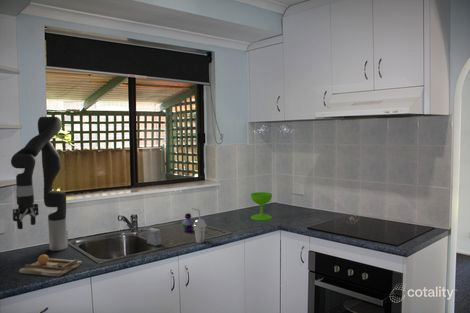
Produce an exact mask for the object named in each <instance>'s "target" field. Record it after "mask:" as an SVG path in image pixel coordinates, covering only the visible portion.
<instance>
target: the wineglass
mask: <svg viewBox="0 0 470 313" xmlns="http://www.w3.org/2000/svg"><path fill="white" fill-rule="evenodd" d="M272 197H273V193H271V192H263V191H260V192H259V191H258V192H257V191H256V192H252V193H250V198H251V200H252V201H253V202H254V203H255V204H257V205H259V213H258V214H253V215H251V216H250V218H251V220H255V221H267V220H272V219H273V216H271V215H270V214H264V213H263V212H264V207H263V206H264V205H266V204H268V203H269V202H270V201H271V200H272Z"/></svg>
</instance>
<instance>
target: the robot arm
mask: <svg viewBox="0 0 470 313" xmlns="http://www.w3.org/2000/svg"><path fill="white" fill-rule="evenodd" d="M62 126H63V124H62V120H61V118H60V117H58V116H40V117H39V118H38V121H37V130H38V134H37V135H35V136H34V137H32V138H31V139H30V140H29V141H28V142H27V143H26V144H25V146H24V147H22V148H21V149H20V150H17V152H16V153H14V154H13V155H12V157H11V159H10V164H11V166H12V167H13V168H14V169H23V172H20V173H18V174H16V177H15V183H16V189H15V193H16V204H17V207H18V208H13V209H12V221H13V222H16V224H17V225H16V227H17V229H18V230H23V220H24V218H26V216H29V217H30V218H29V219H30V225H31V226H35V225H36V223H37V222H36V221H37V220H36V218H37V216H39V212H40V211H39V204H38V203H35V197H34V196H35V195H34V186H33V185H34V184H33V175H34V171H35V170H34V169H35V166H36V158H35V157H37V156H38V155H39V153H40V152H41V164H42V166H41V167H42V173H43V174H42V177H43V204H44V206H45V207H46V208H57V210H56V211H54V212H51V213H49V214H48V215H47V224H48V243H49V244H48V245H49V250H50V251H53V252H54V251H55V252H56V251H63V250H65V249H67V248H68V247H69V237H68V236H69V233H68V232H69V231H68V230H67V216H66V215H67V195H66V192H65V191H64V190H53V185H54V181H55V179H56V178H57V175H58V174H59V173H60V170H61V157H60V154H59V152H58V150H57V149H56V148H55V146H54V145H53V143H52V142H51V140H52V139H53V138H54V137H55V136H56V135H57V134H59V133H60V132H61V129H62Z"/></svg>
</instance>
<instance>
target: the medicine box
mask: <svg viewBox="0 0 470 313" xmlns="http://www.w3.org/2000/svg"><path fill="white" fill-rule="evenodd" d="M161 236H162V235H161V229H159V228H153V227H151V228H147V229H146V243H147V244H148V245H151V246H159V245H161V244H162V238H161Z"/></svg>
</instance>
